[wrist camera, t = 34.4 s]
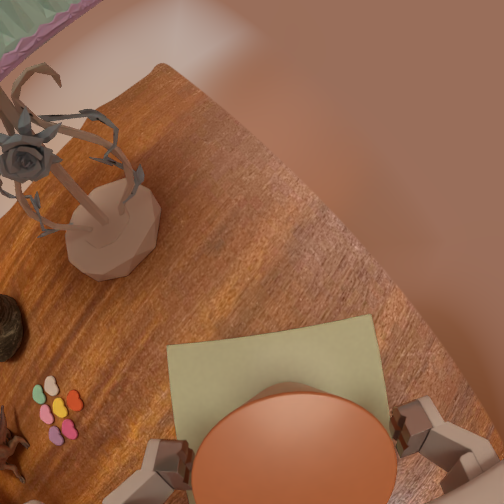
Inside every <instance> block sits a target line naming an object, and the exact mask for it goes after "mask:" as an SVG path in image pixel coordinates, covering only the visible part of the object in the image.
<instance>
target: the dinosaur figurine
mask: <svg viewBox="0 0 504 504" xmlns="http://www.w3.org/2000/svg"><path fill="white" fill-rule="evenodd" d="M6 438H8V439H9V441H8V442H7V439H6ZM11 438H12V437H11V433H10V431H9V430H8V429H7V422H6V417H5V414H4V406H3V405H2V406H1V413H0V470H4V469H9V470H13V472H14V474H15V476H16V477H17V478H19V479H20V481H22V483H23V482H24V483H25V481H24V480H25V479H24V478H23V477H22V476H20V474H19V473H18V470H17V467H16V465H14V464H10V463H7V462H6V460H7V459H8V457H9V456H11V455H12V454H13V453H14V450H15V449H16V446H17V444H18V442H21V444H22V445H23V446H25V447H26V448H27V449H28V446H29V447H30V445H29V444H28V443H27V442H26V441H25V440H24V438H22V437H19V436H16V435H15V436H14V437H13V439H12V440H10V439H11Z"/></svg>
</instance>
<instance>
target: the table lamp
mask: <svg viewBox="0 0 504 504" xmlns="http://www.w3.org/2000/svg"><path fill="white" fill-rule="evenodd" d="M101 1H103V0H0V82H1V81H2V80H3V79H4V78H5V77H6V76H7V75H8V74H9V73H10V72H11V71H12V70H13V69H14V68H16V67H17V66H18V65H19V64H20V63H21V62H23V61H24V59H26V58H27V57H28V56H29V55H31V54H32V53H33V52H34V51H36V50H37V49H38V48H39V47H41V46H42V45H43V44H45V43H46V42H47V41H49V40H50V39H51V38H52V37H53V36H55V35H56V34H57V33H59V32H60V31H61V30H63V29H64V28H65V27H67V26H68V25H69V24H71V23H72V22H74V21H75V20H76V19H78V18H79V17H81V16H82V15H83V14H85V13H86V12H88V11H89V10H90V9H92V8H93V7H95V6H96V5H97V4H99V3H100V2H101ZM34 72H37V73H42V74H47V75H51V76H52V77H53V78H54V80H55V81H56V83H57V84H58V85H59V87H60V88H61V80H60V75H59V74H57V73H56V72H55V71H54V70H53V69H52V68H51V67H49V66H48V65H47V64H46V63H41V64H38V65H35V66H31V67H28V68H26V69H25V70H24V71H23V72H22V74H21V75H20V76H19V77H18V78H17V79H16V81H15V82H14V83H13V88H12V93H11V98H12V100H13V103H14V105H15V106H14V105H13V104H12V102H11V101H10V100H9V98H8V97H7V95H6V94H5V92H4V91H3V90H2V88H1V87H0V118H1V120H2V122H3V124H4V126H5V128H6V131H7V132H8V135H9V136H7V135H5V134H2V133H0V146H1V147H2V152H3V154H2V155H0V175H1V174H2V176H3V177H6V178H9V179H11V180H14V181H15V191H16V197H15V196H13V195H11V194H9V193H7V192H6V191H4V190H2V188H1V186H2V181H1V179H0V192H1V193H2V195H4V196H7V197H9V198H16V199H17V200H18V202H19V203H20V205H21V206H22V208H23V209H24V210H25V212H26V213H27V215H28V216H29V217H31V218H33V219H35V220H37V221H39V222H40V224H41V228H42V231H46V232H44V233H43V234H41V235H40V236H38V237H37V238H39V237H43V236H46V235H48V234H51V233H54V232H57V231H59V230H67V231H66V234H65V239H66V246H67V252H68V258H69V262H70V263H72V264H73V265H74V266H75V267H76V268H78V269H79V270H80V271H81V272H83V273H84V274H86V275H88V276H89V277H91V278H93V279H95V280H96V281H98V282H99V281H104V280H109V279H114V278H119V277H124V276H128V275H129V274H130V273H131V271H132V270H133V269H134V268H135V267H136V266H137V265H138V264H139V263H140V262H141V261H142V260H143V259H144V258H145V257H146V256H147V255H148V254H149V253H150V252H151V251H152V250H153V249H154V248H155V247H156V241H157V234H158V227H159V221H160V214H161V207H160V205H159V204H158V202H157V200H156V199H155V197H154V195H153V193H152V192H151V190H150V189H148V188H146V187H144V186H142V185H141V183H142V182H143V181H144V172H143V169H142V167H141V164H140V165H139V167H138V169H137V171H134V170H133V169H132V167H131V163H130V162H129V161H128V159H127V158H126V156H125V155H124V153H123V152H122V150H121V149H120V148H119V147H117V146H116V144H117V139H118V130H119V129H118V128H117V127H116V126H115V125H114V124H113V123H112V122H111V121H110V120H109V119H107V118H106V116H105V115H103V114H101V113H100V112H98V111H96V110H92V109H84V110H81V111H79V112H80V113H81V114H71V115H41V116H38V117H40V118H41V119H39V118H38V117H37V116H36V115H35V114H34V113H33V112H32V111H31V110H29V108H27V107H26V106H25V105H24V104H23V103H22V102H21V101H20V100H19V96H20V91H21V86H22V85H23V84H24V83H25V82H26V81H27V80H28V79H29V78H30V77H31V76H32V75H33V74H34ZM80 117H88V118H89V119H90V120H92V121H95V120H99V121H101V122H103V123H104V124H106V125H108V126H110V127H111V128H113V129H114V144H112V143H110V142H108V141H107V140H105V139H103V138H101V137H99V136H98V135H95V134H92V133H89V132H85V131H82V130H78V129H75V128H71V127H67V126H64V125H61V123H58V124H57V123H53V122H50V121H56V120H64V119H71V118H80ZM42 119H43V120H42ZM31 122H33V123H35V124H37V125H39V126H41V127H43V128H44V129H45V130H43V131H42V132H40V133H38V134H35V133H34V132H33V130H32V129H31ZM14 127H15V129H16V130H17V131H18V132H19V134H20V135H19V134H15V131H14ZM57 132H59V133H62V134H65V135H69V136H72V137H76V138H79V139H83V140H86V141H89V142H93V143H96V144H99V145H102V146H104V147H105V148H106V149H108V151H107V152H106V153H105V155H104V158H103V159H99V158H92V157H89V158H91V159H93V160H96V161H99V162H102V163H105V164H108V165H111V166H113V165H115V166H117V167H119V168H121V169H123V170H124V172H125V176H126V178H123V179H120V180H117V181H114V182H111V183H108V184H106V185H103V186H100V187H97V188H94V190H93V191H92V192H91V193H90V194H89V195H88V196H87V194H86V193H85V192H84V191H83V190H82V189H81V188H80V187H79V185H78V184H77V183H76V182H75V181H74V180H73V179H72V178H71V176H70V175H69V174H68V173H67V172H66V171H65V169H64V168H63V167H62V166H61V165H60V164H59V162H61V161H62V159H61V158H59V157H58V156H57V155H55V154H53V153H52V152H53V150H52V149H49V148H46V147H45V145H44V144H43V143H47V142H49V141H50V140H51V139H53V138H54V137H55V135H56V134H57ZM110 152H111V153H112V154H114V155H115V156H116V157H117V158H118V159H119V160H121V161H122V164H121V163H118V162H116V161H114V160H113V159H111V158H109V157H108V154H109V153H110ZM112 164H113V165H112ZM49 171H51V172H52V173H53V174H54V175H55V176H56V178H57V179H58V180H59V181H60V182H61V183H62V184H63V185H64V186H65V187H66V189H67V190H68V191H69V192H70V193H71V194H72V195H73V196H74V197H75V198H76V199H77V200H78V201H79V203H80V205H79V206H78V207H77V208H76V210H75V211H74V213H73V215H72V218H71V220H70V223H69V224H55V223H53V222H51V221H50V220H48V219H46V218H44V217H42V216H40V213H39V209H40V207H41V206H40V199H39V195H38V192H36V194H35V198H34V199H33V198H32V196H31V195H27V196H24V195H23V193H22V190H21V183H24V182H26V181H27V180H31V181H32V182H33V181H35V182H36V181H38V180H40V179H41V178H43V177H45V176H47V175H49ZM133 176H134V178H133ZM25 198H30V200H31V202H32V204H33V206H34V208H35V210H36V212H37V213H35V212H33V211H32V209H31V208H30V206H29V204H28V202H27V200H26V199H25ZM38 208H39V209H38ZM43 224H45V225H47V226H49V227H51V228H53V229H44V226H43Z"/></svg>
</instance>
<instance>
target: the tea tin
mask: <svg viewBox="0 0 504 504" xmlns="http://www.w3.org/2000/svg"><path fill="white" fill-rule="evenodd" d="M396 475H397V458H396V452H395V448H394V445H393V442H392V440H391V438H390V436H389V434H388V432H387V430H386V429H385V428H384V426H383V425H382V424H381V422H380V421H379V420H378V419H377V418H376V417H375V416H374V415H373V414H372V413H370V412H369V411H368V410H366V409H365V408H363V407H362V406H360V405H358V404H356V403H354V402H353V401H351V400H348V399H345V398H343V397H340V396H337V395H334V394H331V393H328V392H325V391H322V390H319V389H316V388H314V387H311V386H308V385H305V384H302V383H296V382H284V383H278V384H275V385H272V386H270V387H268V388H266V389H264V390H263V391H261V392H260V393H258V394H257V395H256V396H254V397H253V398H251V399H250V400H248V401H247V402H245V403H244V404H242V405H241V406H239V407H238V408H236V409H235V410H233V411H232V412H230V413H229V414H228V415H226V416H225V417H224V418H223V419H221V420H220V421H219V422H218V423H217V424H216V425H215V426H214V427H213V428H212V429H211V430H210V431H209V433H208V434H207V435H206V436H205V438H204V439H203V441H202V443H201V444H200V446H199V448H198V450H197V453H196V455H195V458H194V461H193V466H192V471H191V485H192V492H193V496H194V499H195V503H196V504H387V502H388V500H389V498H390V496H391V494H392V491H393V488H394V485H395V480H396Z"/></svg>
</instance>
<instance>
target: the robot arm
mask: <svg viewBox="0 0 504 504" xmlns="http://www.w3.org/2000/svg"><path fill="white" fill-rule="evenodd" d="M392 413H393V416H392V417H391V418H390V421H389V430H390V434H391V436H392V438H393V439H395V440H397V444H396V448H397V451H398V453H399V456H400V458H402V457H405V456H408V455H411V454H414V453H416V452H419V453H420V454H422V455H423V456H425V457H426V458H427V459H429V460H430V461H432V462H433V463H435V464H436V465H438V466H439V467H441V468H442V469H444V470H445V471H447V472H448V473H447V475H446V476H445V477H444V478H443V479H442V481H441V483H440V485H441V487H442V490H443V492H444V495H442V496H440V497H438V498H436V499H434V500H432V501H429V502H427V503H425V504H504V459H503V460H501V461H500V460H499V458H498V456H497V454H496V452H495V451H494V449H493V447H492V446H491V444H490V442H489V441H488V440H487V439H485V438H483V437H480V436H478V435H476V434H474V433H472V432H469V431H467V430H465V429H463V428H461V427H459V426H457V425H454V424H452V423H450V422H448V421H447V422H444V420H443V418H442V417H441V415H440V413H439V412H438V410H437V408H436V407H435V405H434V403H433V402H432V400H431V398H430V397H429V396H428V395H426V396H423V397H420V398H418V399H415V400H412V401H409V402H407V403H404V404H401V405H398V406H395V407H394V408H393V410H392ZM194 458H195V453H194V451H193V449H191V448H189V443H188V442H187V440H170V439H150V440H149V441H148V444H147V447H146V451H145V455H144V459H143V463H142V467H141V470H137V471H136V472H134V473H133V474H132V475H131V476H130V477H129V478H128V479H127V480H125V481H124V482H123V483H122V484H121V485H120V486H118V487H117V488H116V489H115V490H114V491H113V492H111V493H110V494H109V495H108V496H107V497H105V498H104V499H103V502H102V504H163V503H164V502H165V501H166V500H167V499H168V497H169V496H170V495H171V494H172V493H173V491H174V490H192V485H191V471H192V466H193V461H194ZM173 489H174V490H173ZM24 504H44V503H42V502H40V501H37V500H31V501H28V502H26V503H24Z"/></svg>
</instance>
